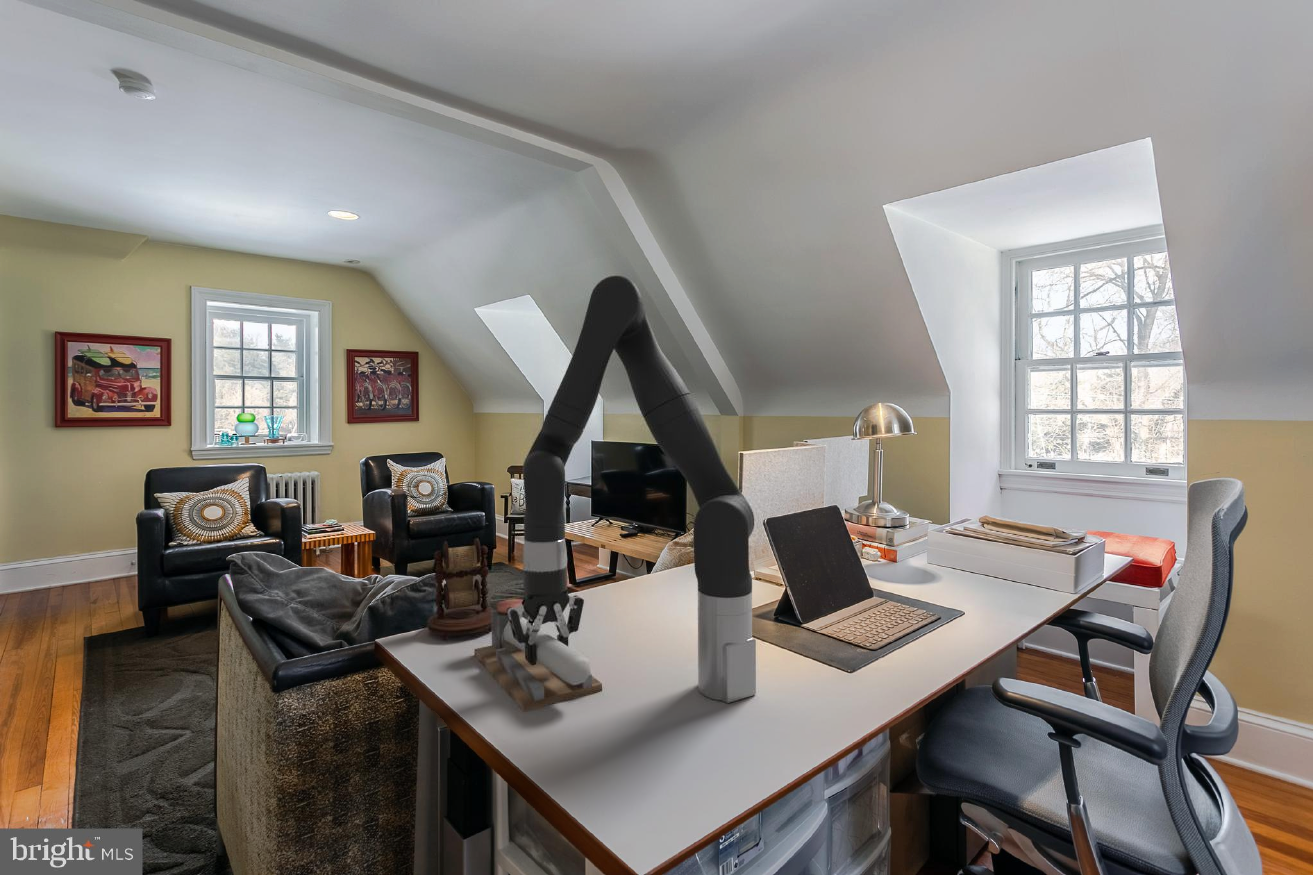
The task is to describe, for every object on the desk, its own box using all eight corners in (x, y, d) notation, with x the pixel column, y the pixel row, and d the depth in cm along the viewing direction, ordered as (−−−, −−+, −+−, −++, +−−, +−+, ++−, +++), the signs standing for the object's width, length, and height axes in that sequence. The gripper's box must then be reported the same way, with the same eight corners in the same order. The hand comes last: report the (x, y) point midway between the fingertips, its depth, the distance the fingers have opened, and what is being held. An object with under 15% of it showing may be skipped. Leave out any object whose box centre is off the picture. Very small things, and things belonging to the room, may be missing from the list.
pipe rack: (602, 690, 110) (601, 634, 109) (523, 711, 103) (522, 651, 102) (540, 640, 134) (540, 594, 134) (473, 654, 127) (472, 605, 126)
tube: (600, 658, 104) (532, 617, 124) (573, 655, 101) (508, 614, 121) (592, 691, 104) (525, 645, 124) (564, 689, 101) (500, 642, 121)
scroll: (488, 615, 151) (486, 531, 150) (505, 634, 138) (503, 542, 137) (422, 625, 144) (420, 537, 143) (433, 646, 131) (431, 550, 130)
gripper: (574, 555, 119) (575, 645, 120) (498, 565, 111) (500, 662, 112) (591, 563, 112) (593, 658, 113) (512, 574, 105) (514, 677, 106)
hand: (546, 659), depth 113 cm, fingers closed on tube, 5 cm apart
